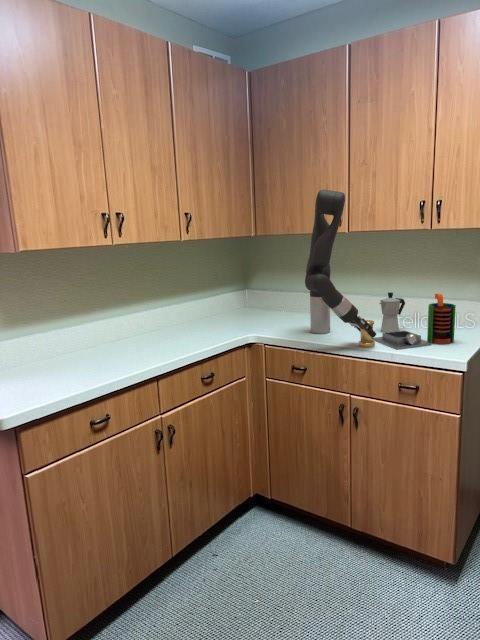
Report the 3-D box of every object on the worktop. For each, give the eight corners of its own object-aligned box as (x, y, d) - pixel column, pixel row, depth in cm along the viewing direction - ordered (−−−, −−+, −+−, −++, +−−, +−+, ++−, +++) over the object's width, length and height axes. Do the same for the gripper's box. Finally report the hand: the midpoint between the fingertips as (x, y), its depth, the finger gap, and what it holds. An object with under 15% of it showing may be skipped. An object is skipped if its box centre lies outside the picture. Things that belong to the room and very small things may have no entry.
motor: (435, 345, 195) (437, 296, 192) (422, 341, 204) (423, 294, 200) (457, 343, 198) (459, 294, 194) (442, 338, 207) (444, 291, 203)
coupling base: (372, 340, 210) (372, 328, 209) (405, 336, 214) (405, 325, 213) (396, 349, 193) (397, 337, 192) (431, 345, 197) (431, 333, 196)
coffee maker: (385, 334, 218) (386, 294, 215) (372, 331, 226) (372, 292, 223) (411, 330, 224) (411, 291, 221) (397, 326, 232) (397, 289, 229)
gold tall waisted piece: (355, 344, 203) (355, 320, 201) (369, 343, 205) (369, 319, 203) (363, 348, 197) (363, 323, 195) (377, 346, 199) (377, 322, 197)
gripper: (358, 304, 189) (384, 330, 194) (341, 299, 202) (366, 323, 207) (346, 319, 188) (372, 344, 194) (330, 313, 202) (354, 337, 207)
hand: (369, 333), depth 200 cm, fingers open, 8 cm apart
